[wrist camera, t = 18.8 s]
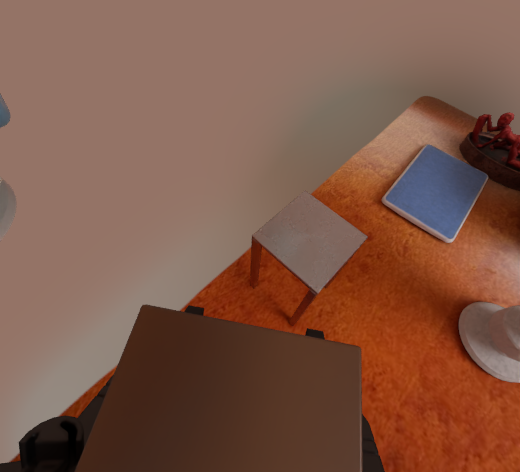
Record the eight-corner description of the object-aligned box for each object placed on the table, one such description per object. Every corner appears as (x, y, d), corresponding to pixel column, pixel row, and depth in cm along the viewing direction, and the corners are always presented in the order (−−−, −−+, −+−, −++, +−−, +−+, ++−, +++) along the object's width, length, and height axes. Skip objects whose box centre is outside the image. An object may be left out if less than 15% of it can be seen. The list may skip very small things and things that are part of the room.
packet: (292, 372, 14) (362, 346, 6) (276, 526, 11) (370, 944, 3) (202, 354, 15) (141, 303, 6) (164, 500, 12) (-65, 808, 3)
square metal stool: (292, 326, 35) (317, 293, 23) (249, 285, 38) (251, 235, 25) (329, 285, 38) (368, 236, 26) (287, 249, 41) (304, 190, 29)
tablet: (423, 146, 54) (427, 141, 53) (486, 179, 50) (492, 174, 49) (377, 203, 46) (381, 198, 45) (448, 247, 42) (453, 243, 41)
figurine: (447, 163, 52) (489, 105, 45) (449, 154, 59) (485, 104, 53) (535, 200, 47) (595, 141, 41) (525, 186, 54) (575, 134, 48)
